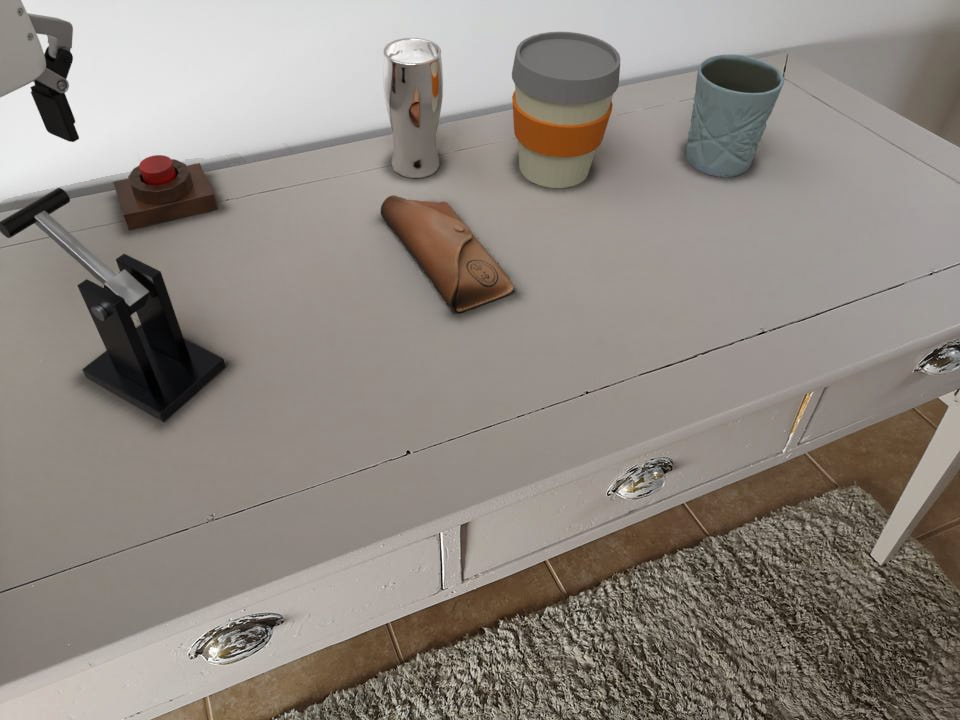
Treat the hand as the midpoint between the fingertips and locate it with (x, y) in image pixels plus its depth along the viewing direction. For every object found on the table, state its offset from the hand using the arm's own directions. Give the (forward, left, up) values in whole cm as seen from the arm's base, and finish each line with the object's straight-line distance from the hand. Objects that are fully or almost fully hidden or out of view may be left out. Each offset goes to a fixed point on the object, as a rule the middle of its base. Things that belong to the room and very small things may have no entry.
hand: (13, 163), depth 62 cm
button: (-5, +22, -16) cm, 28 cm away
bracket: (+8, -2, -20) cm, 22 cm away
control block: (-5, +22, -20) cm, 30 cm away
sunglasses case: (+29, +23, -20) cm, 42 cm away
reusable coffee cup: (+37, +44, -20) cm, 61 cm away
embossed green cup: (+57, +53, -20) cm, 80 cm away
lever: (+4, -1, -9) cm, 9 cm away
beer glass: (+20, +39, -20) cm, 48 cm away
